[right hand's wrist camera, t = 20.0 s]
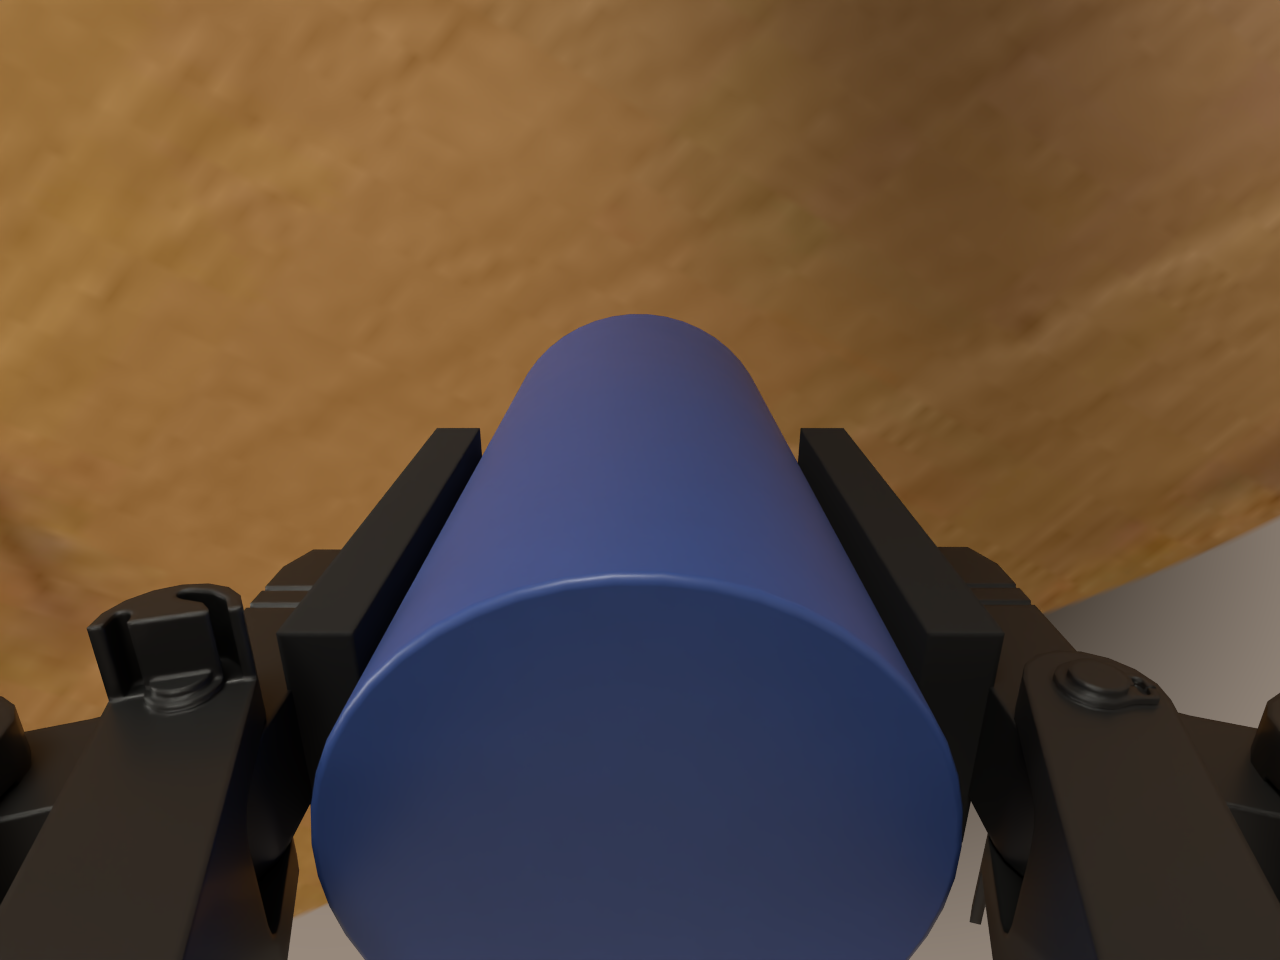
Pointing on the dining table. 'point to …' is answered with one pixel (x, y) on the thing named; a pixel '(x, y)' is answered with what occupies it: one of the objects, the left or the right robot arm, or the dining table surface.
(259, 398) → the dining table surface
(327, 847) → the canister
